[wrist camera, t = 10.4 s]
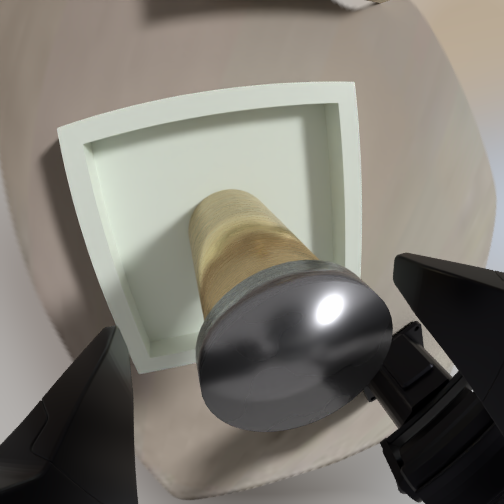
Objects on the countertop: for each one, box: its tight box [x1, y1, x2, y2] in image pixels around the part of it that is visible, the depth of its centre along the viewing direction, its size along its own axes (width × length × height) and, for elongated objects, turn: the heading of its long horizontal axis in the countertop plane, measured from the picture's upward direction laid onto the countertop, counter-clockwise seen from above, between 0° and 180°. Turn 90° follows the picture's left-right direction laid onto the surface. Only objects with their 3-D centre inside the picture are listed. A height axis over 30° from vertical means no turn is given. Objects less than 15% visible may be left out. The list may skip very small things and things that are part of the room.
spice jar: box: [188, 189, 393, 432], centre depth 11 cm, size 5×5×10 cm
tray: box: [57, 82, 362, 374], centre depth 15 cm, size 13×13×2 cm
